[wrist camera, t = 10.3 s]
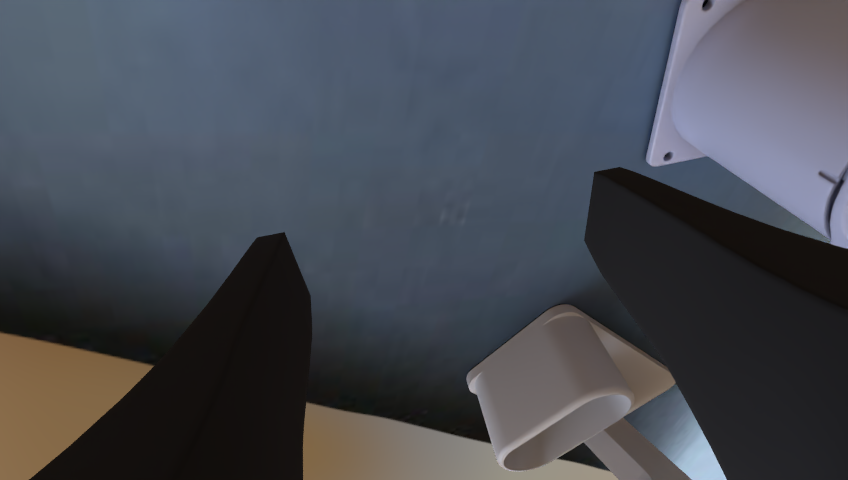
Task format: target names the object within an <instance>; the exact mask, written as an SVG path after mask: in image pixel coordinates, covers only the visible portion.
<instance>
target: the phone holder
mask: <svg viewBox="0 0 848 480" xmlns="http://www.w3.org/2000/svg"><path fill="white" fill-rule="evenodd" d="M466 379H467V383H468V387H469V390H470V391H471V392H472V393H474V394H477V395H478V399H479V402H480V406H481V409H482V412H483V416H484V419H485V422H486V426H487V429H488V433H489V436H490V439H491V443H492V446H493V449H494V453H495V456H496V460H497V462H498V464H499V465H500V466H501V467H502V468H504V469H506V470H509V471H527V470H532V469H535V468H539V467H542V466H544V465H546V464H548V463H550V462H552V461H553V460H555V459H557V458H558V457H560V456H562V455H563V454H565V453H566V452H568V451H570V450H571V449H573V448H575V447H576V446H578V445H580V444H581V443H583V442H584V443H585V444H586V445H587V446H588V447H589V448H590V449H591V450H592V451H593V452H594V454H595V455H596V456H597V457H598V458H599V459H600V460H601V461H602V462H603V463H604V464H605V465H606V466H607V467H608V469H609V470H610V471H611V472H612V473H613V474H614V475H615V476H616V477H617V478H618V479H619V480H691V479H690V478H689V477H688V476H687V475H686V474H685V473H684V472H683V471H681V470H680V469H679V468H678V467H677V466H676V465H675V464H674V463H673V462H672V461H670V460H669V459H668V458H667V457H666V456H665V455H664V454H663V453H662V452H660V451H659V450H658V449H657V448H656V447H655V446H654V445H653V444H652V443H650V442H649V441H648V440H647V439H646V438H645V437H644V436H643V435H642V434H640V433H639V432H638V431H637V430H636V429H635V428H634V427H633V426H632V425H630V424H629V423H628V422H627V421H626V420H625V419H624V418H623V417H624V416H625V415H627V414H629V413H630V412H632V411H634V410H635V409H637V408H639V407H640V406H642V405H643V404H645V403H647V402H648V401H650V400H652V399H653V398H655V397H656V396H658V395H660V394H661V393H663V392H665V391H666V390H668V389H669V388H671V387H672V386H673V385H674V384H675V380H674V379H673V377H672V375H671V373H670V372H669V370H668V368H667V367H666V366H665V365H663V364H662V363H660V362H659V361H657V360H655V359H654V358H652V357H651V356H649V355H648V354H646V353H645V352H643V351H642V350H640V349H639V348H637V347H635V346H634V345H632V344H631V343H629V342H628V341H626V340H625V339H623V338H622V337H620V336H619V335H617V334H616V333H614V332H612V331H611V330H609V329H608V328H606V327H605V326H603V325H602V324H600V323H599V322H597V321H596V320H594V319H593V318H591V317H589V316H588V315H586V314H585V313H583V312H582V311H580V310H579V309H577V308H576V307H574V306H572V305H568V304H563V305H558V306H555V307H552V308H550V309H549V310H547V311H546V312H544V313H543V314H542V315H541V316H539V317H538V318H537V319H536V320H534V321H533V322H532V323H530V324H529V325H528V326H527V327H525V328H524V329H523V330H522V331H520V332H519V333H518V334H516V335H515V336H514V337H513V338H511V339H510V340H509V341H508V342H506V343H505V344H504V345H502V346H501V347H500V348H499V349H497V350H496V351H495V352H494V353H492V354H491V355H490V356H489V357H487V358H486V359H485V360H483V361H482V362H481V363H480V364H478V365H477V366H476V367H475V368H473V369H472V370H471V371H470V372H469V373H468V375H467V378H466Z"/></svg>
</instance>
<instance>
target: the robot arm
mask: <svg viewBox="0 0 848 480" xmlns="http://www.w3.org/2000/svg"><path fill="white" fill-rule="evenodd" d="M703 2H704V0H682V2H681V5H680V8H679V13H678V17H677V21H676V26H675V30H674V35H673V39H672V44H671V48H670V53H669V57H668V62H667V66H666V70H665V75H664V79H663V84H662V88H661V93H660V97H659V102H658V106H657V111H656V115H655V119H654V124H653V128H652V133H651V137H650V142H649V146H648V151H647V155H646V161H647V163H649V164H650V165H651V166H661V165H666V164H671V163H676V162H681V161H686V160H691V159H696V158H701V157H706V156H708V157H710V158H711V159H713V160H714V161H716V162H717V163H719V164H720V165H722V166H723V167H725V168H726V169H728V170H729V171H730V172H732V173H733V174H735V175H736V176H738V177H739V178H741V179H742V180H744V181H745V182H747V183H748V184H750V185H751V186H752V187H754V188H755V189H757V190H758V191H760V192H761V193H763V194H764V195H766V196H767V197H769V198H770V199H772V200H773V201H774V202H776V203H777V204H779V205H780V206H782V207H783V208H785V209H786V210H788V211H789V212H791V213H792V214H794V215H795V216H796V217H798V218H799V219H801V220H802V221H804V222H805V223H807V224H808V225H810V226H811V227H813V228H814V229H815V230H817V231H818V232H820V233H821V234H823V235H824V236H826V237H827V238H829V239H830V240H831V242H830V244H829V243H825V242H822V241H818V240H815V239H812V238H808V237H805V236H801V235H798V234H795V233H792V232H788V231H785V230H782V229H779V228H776V227H773V226H770V225H768V224H765V223H762V222H759V221H756V220H754V219H751V218H748V217H745V216H743V215H740V214H737V213H734V212H732V211H729V210H727V209H724V208H721V207H719V206H716V205H714V204H711V203H709V202H706V201H704V200H702V199H699V198H697V197H694V196H692V195H689V194H687V193H685V192H682V191H680V190H677V189H675V188H673V187H670V186H668V185H665V184H663V183H661V182H658V181H656V180H653V179H651V178H648V177H646V176H643V175H641V174H638V173H636V172H633V171H630V170H627V169H624V168H621V167H618V168H613V169H608V170H602V171H597V172H594V179H593V185H592V192H591V199H590V206H589V212H588V219H587V226H586V233H585V239H584V241H585V243H586V245H587V247H588V249H589V251H590V253H591V255H592V257H593V259H594V261H595V263H596V265H597V266H598V268H599V270H600V272H601V274H602V275H603V277H604V278H605V280H606V281H607V283H608V284H609V286H610V287H611V288H612V290H613V291H614V293H615V294H616V295H617V297H618V298H619V300H620V301H621V303H622V304H623V305H624V307H625V308H626V309H627V311H628V312H629V314H630V315H631V316H632V318H633V319H634V320H635V322H636V323H637V325H638V326H639V327H640V329H641V330H642V332H643V333H644V334H645V336H646V337H647V338H648V340H649V341H650V343H651V344H652V345H653V347H654V348H655V350H656V351H657V353H658V354H659V356H660V357H661V359H662V360H663V362H664V363H665V365H666V366H667V368H668V370H669V372H670V373H671V375H672V377H673V379H674V380H675V382H676V384H677V386H678V387H679V389H680V391H681V393H682V394H683V396H684V398H685V400H686V401H687V403H688V405H689V407H690V409H691V410H692V412H693V414H694V416H695V418H696V420H697V422H698V424H699V425H700V427H701V429H702V431H703V433H704V435H705V437H706V439H707V440H708V442H709V444H710V446H711V448H712V450H713V452H714V454H715V456H716V458H717V460H718V462H719V464H720V466H721V468H722V470H723V472H724V474H725V477H726V479H727V480H848V0H708V2H707V4H706V5H705V7H704V8H702V4H703ZM668 152H669V153H668ZM666 153H668V154H667V155H666V156H665V154H666ZM664 156H665V157H664ZM311 342H312V316H311V296H310V294H309V291H308V289H307V286H306V284H305V281H304V279H303V276H302V274H301V272H300V269H299V267H298V264H297V262H296V259H295V257H294V255H293V252H292V250H291V247H290V245H289V242H288V240H287V237H286V235H285V233H284V232H283V233H278V234H273V235H268V236H263V237H258V238H256V240H255V241H254V242H253V243H252V245H251V246H250V247H249V249H248V250H247V252H246V253H245V254H244V256H243V257H242V258H241V260H240V261H239V263H238V264H237V265H236V267H235V268H234V270H233V271H232V272H231V274H230V275H229V276H228V278H227V279H226V280H225V282H224V283H223V284H222V286H221V287H220V288H219V290H218V291H217V292H216V294H215V295H214V296H213V298H212V299H211V300H210V302H209V303H208V304H207V305H206V307H205V308H204V309H203V310H202V312H201V313H200V314H199V315H198V316H197V318H196V319H195V320H194V321H193V322H192V324H191V325H190V326H189V327H188V328H187V330H186V331H185V332H184V333H183V334H182V336H181V337H180V338H179V339H178V340H177V342H176V343H175V344H174V345H173V346H172V347H171V348H170V350H169V351H168V352H167V353H166V354H165V355H164V356H163V357H162V358H161V359H160V360H159V362H158V363H157V364H156V365H155V366H154V367H153V368H152V369H151V370H150V371H149V372H148V373H147V374H146V375H145V376H144V377H143V378H142V379H141V380H140V381H139V382H138V383H137V384H136V385H135V386H134V387H133V388H132V389H131V390H130V391H129V392H128V393H127V394H126V395H125V396H124V397H123V398H122V399H121V400H120V401H119V402H118V403H117V404H116V405H114V406H113V407H112V408H111V409H110V410H109V411H108V412H107V413H106V414H105V415H103V416H102V417H101V418H100V419H99V420H98V421H97V422H96V423H95V424H93V425H92V426H91V427H90V428H89V429H88V430H87V431H86V432H85V433H84V434H82V435H81V436H80V437H79V438H78V439H77V440H76V441H75V442H74V443H73V444H71V446H69V447H68V448H67V449H66V450H64V451H63V452H62V453H61V454H60V455H58V456H57V457H56V458H55V459H54V460H52V461H51V462H50V463H49V464H48V465H46V466H45V467H44V468H43V469H42V470H40V471H39V472H38V473H37V474H36V475H34V476H33V477H32V478H31V479H29V480H303V431H304V418H305V408H306V397H307V387H308V376H309V365H310V354H311Z"/></svg>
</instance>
